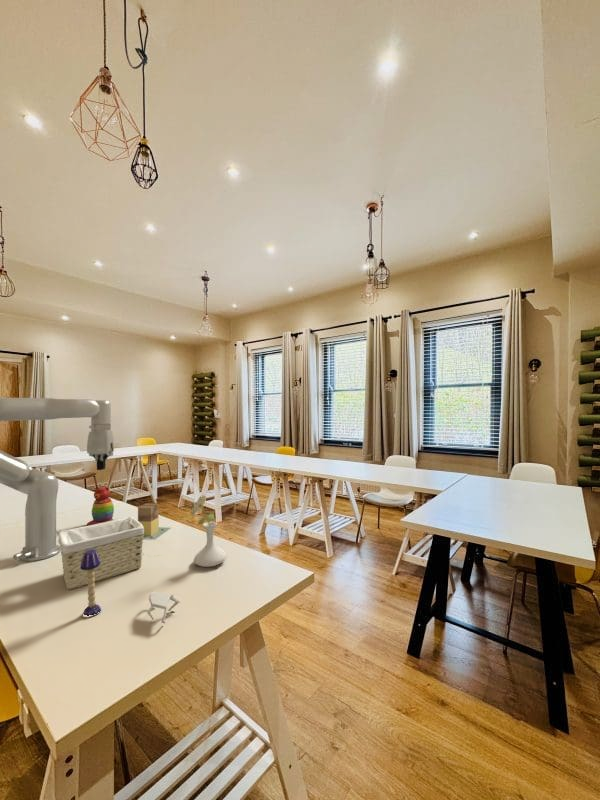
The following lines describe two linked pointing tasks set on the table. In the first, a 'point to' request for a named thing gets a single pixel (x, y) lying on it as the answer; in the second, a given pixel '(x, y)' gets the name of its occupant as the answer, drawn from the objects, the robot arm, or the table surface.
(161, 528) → the baseplate
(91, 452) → the robot arm
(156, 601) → the white legged frame
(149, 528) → the mustard cube
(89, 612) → the toy lamp
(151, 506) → the walnut cube
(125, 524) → the storage basket
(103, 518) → the stacking bear
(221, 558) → the flower in vase
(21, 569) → the table surface
